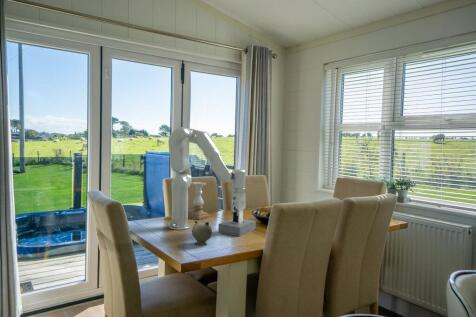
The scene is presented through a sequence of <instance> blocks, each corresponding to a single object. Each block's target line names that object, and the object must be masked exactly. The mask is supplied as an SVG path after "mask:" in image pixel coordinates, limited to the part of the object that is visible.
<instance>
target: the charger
mask: <svg viewBox="0 0 476 317" xmlns="http://www.w3.org/2000/svg"><path fill="white" fill-rule="evenodd" d="M235 210H236V209H235ZM243 219H244V210H240V211H238V222H233V220H232V223H236V224H241V223H243Z"/></svg>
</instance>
